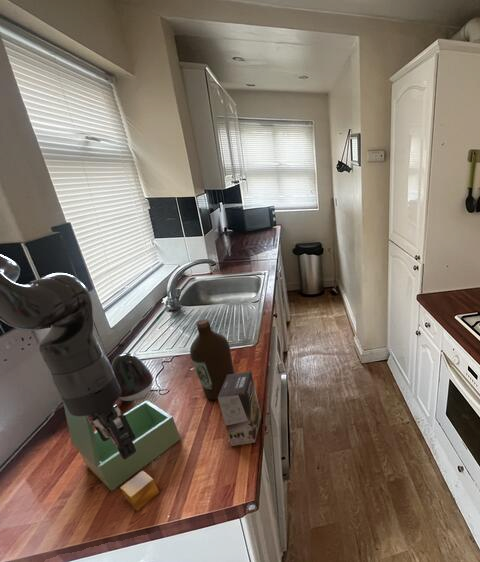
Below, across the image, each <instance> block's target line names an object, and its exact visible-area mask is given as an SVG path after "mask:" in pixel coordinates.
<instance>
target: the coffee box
mask: <svg viewBox="0 0 480 562" xmlns="http://www.w3.org/2000/svg"><path fill="white" fill-rule="evenodd" d="M234 373H235V372H234ZM217 400H218V404H219V407H220V411H221V415H222V418H223V422H224V426H225V429H226V434H227V436H228V440H229V443H230V446H231V447H235V446H242V445H247V444H254V443H255V444H256V442H257V437H258V433H259V428H260V424H261V420H262V413H261V408H260V404H259V403H260V402H259V400H258V395H257V391H256V385H255V382H254V378H253V373H252V371H251V370H248V371H241V372H236V373H235V374H228V375H227V377H226V379H225V381H224V384H223V386H222V388H221V391H220V393H219V395H218V399H217Z"/></svg>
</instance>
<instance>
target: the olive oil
mask: <svg viewBox="0 0 480 562" xmlns="http://www.w3.org/2000/svg"><path fill="white" fill-rule="evenodd" d="M195 324H196V329H197V332H198V334H197V336H196V337H195V338H194V340H193V342H192V343H191V345H190V349H189V355H190V359H191V361H192V365H193V367H194V369H195V372H196V374H197V377H198V380H199V382H200V385H201V387H202V391H203V393H204V397H205V398H206V399H208V400H215V401H216V400H218V395H219V393H220V391H221V388H222V386H223V384H224V381H225V379H226V377H227V375H228V374H235V368H234V363H233V357H232V352H231V346H230V343H229V341H228V339H227V338H226V337H225V336H224V335H223V334H221V333H219V332H216V331H214V330H212V326H211V323H210V320H209V319H208V318H203V319H199V320H198V321H196V323H195Z"/></svg>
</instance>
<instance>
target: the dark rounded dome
mask: <svg viewBox="0 0 480 562" xmlns="http://www.w3.org/2000/svg"><path fill="white" fill-rule="evenodd" d="M110 365H111V368H112V370H113V372H114V374H115V377H116V379H117V381H118V383H119V386H120V388H121V395H120V397H119V398H118V400H120V401H123V402H133V401H136V400H139V399H142V398H143V397H145V396H146V395H147V394H148V393H149V392H150V391H151V389H152V387H153V384H154V383H153V382H154V376H153V374H152V373H151V371H150V369H149V368H148V367H147V365H146V364H145V362H143V361H142V360H141V358H139V357H137V356H136V355H134V354H132V353H130V352H123V353H120V354H118V355H116V356H115V357H114V358H113V360H112V362H111V364H110Z"/></svg>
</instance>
